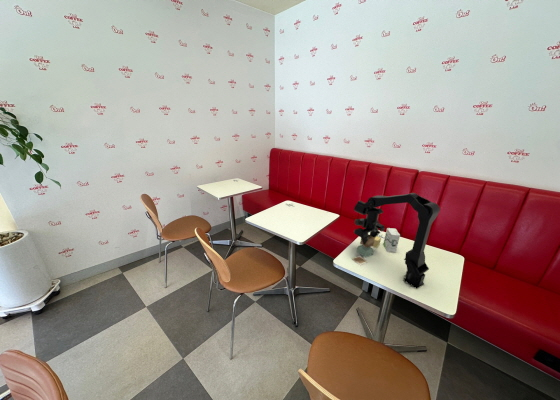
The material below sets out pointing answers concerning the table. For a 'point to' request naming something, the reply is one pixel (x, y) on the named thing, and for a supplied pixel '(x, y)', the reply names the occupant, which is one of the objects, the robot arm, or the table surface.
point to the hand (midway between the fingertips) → (367, 243)
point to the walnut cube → (368, 241)
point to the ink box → (391, 240)
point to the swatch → (359, 260)
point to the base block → (365, 251)
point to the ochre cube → (376, 242)
